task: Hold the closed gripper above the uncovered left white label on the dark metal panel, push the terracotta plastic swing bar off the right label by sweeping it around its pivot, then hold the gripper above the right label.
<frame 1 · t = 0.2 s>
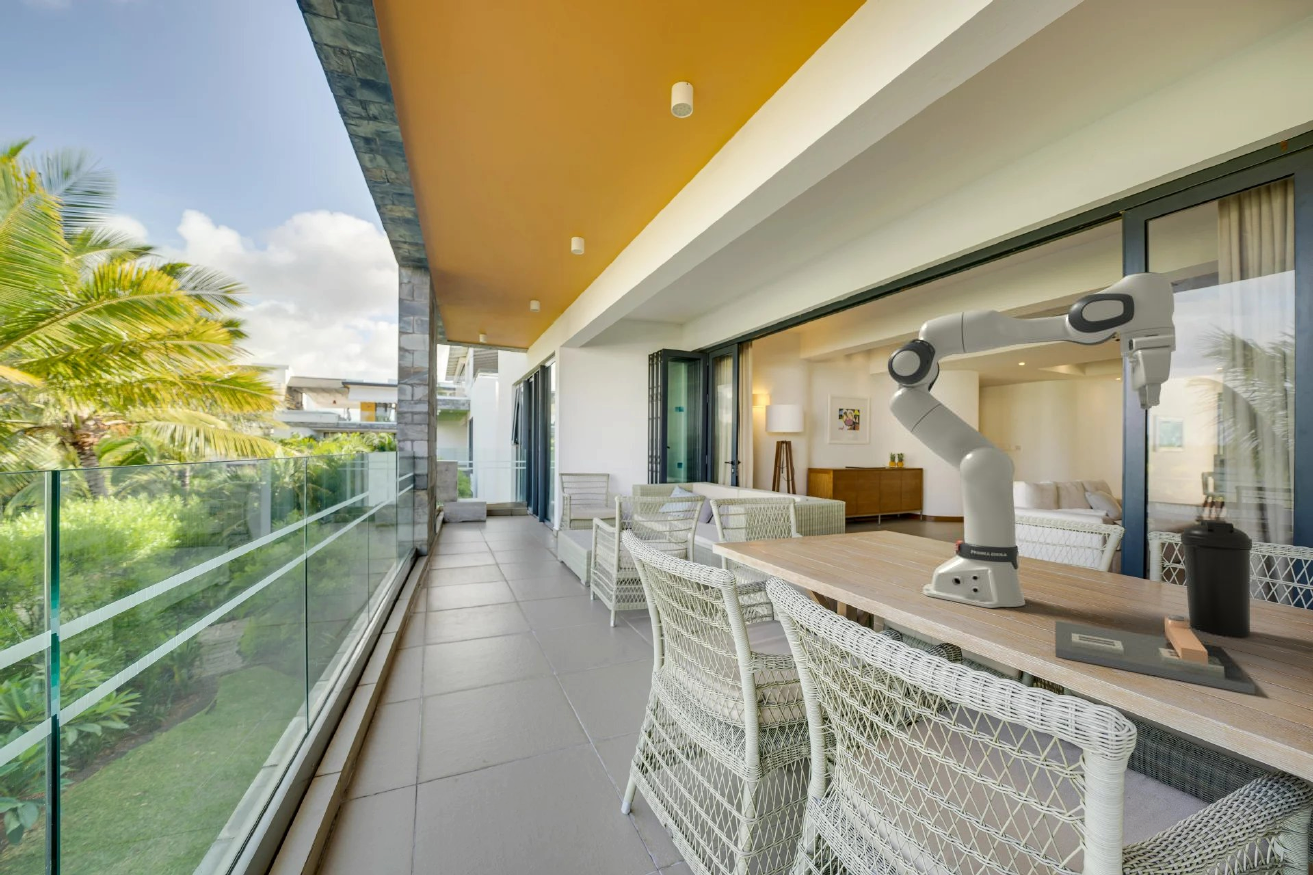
hand: (1149, 407, 112), 48 cm above the table, tool pointing down, fingers open, 8 cm apart
water bottle: (1219, 631, 106), on the table
swing bar: (1184, 639, 89), point 4 cm above the table, hinge at 0.0°
label panel: (1138, 655, 93), on the table
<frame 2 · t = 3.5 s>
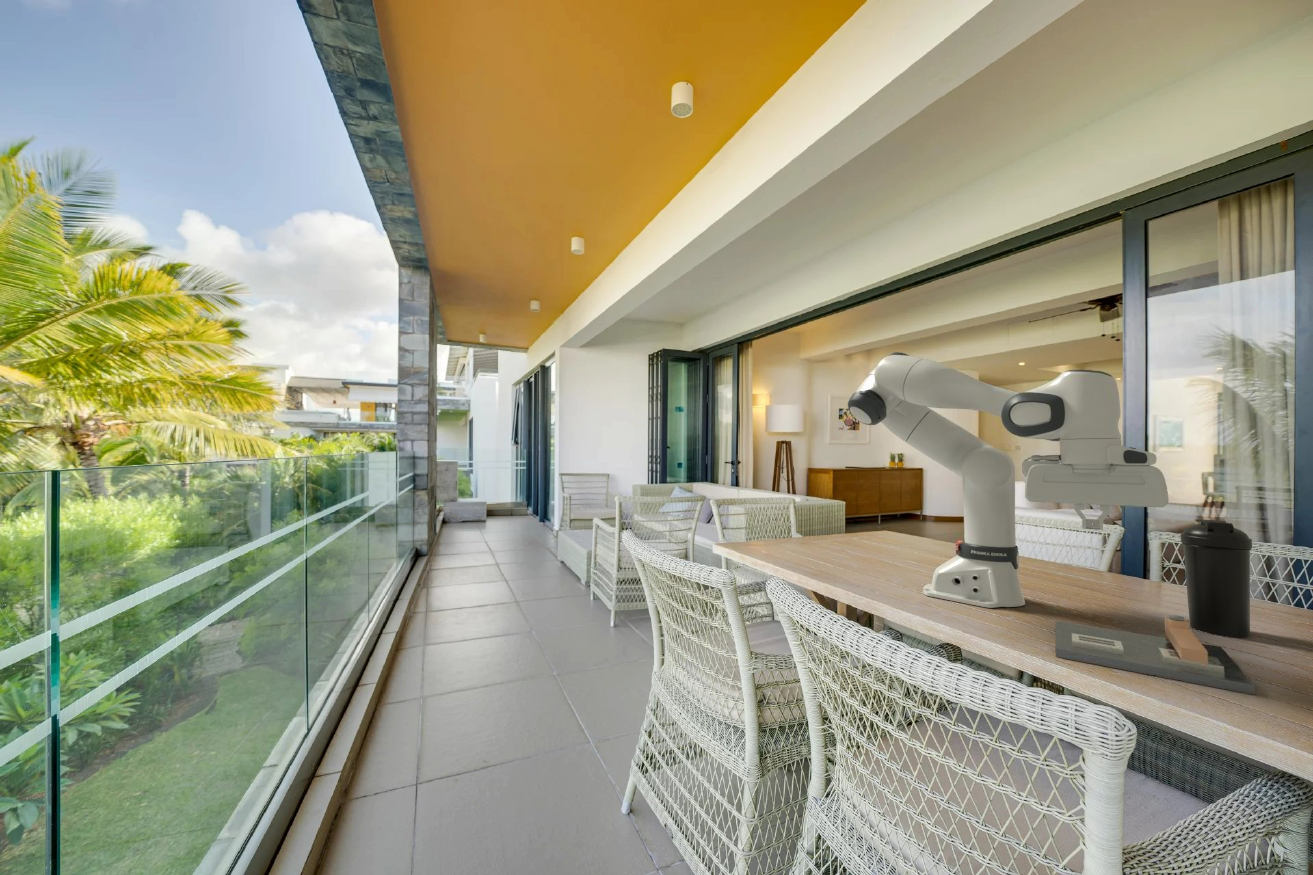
hand: (1092, 528, 94), 23 cm above the table, tool pointing down, fingers closed
nothing on the table moved.
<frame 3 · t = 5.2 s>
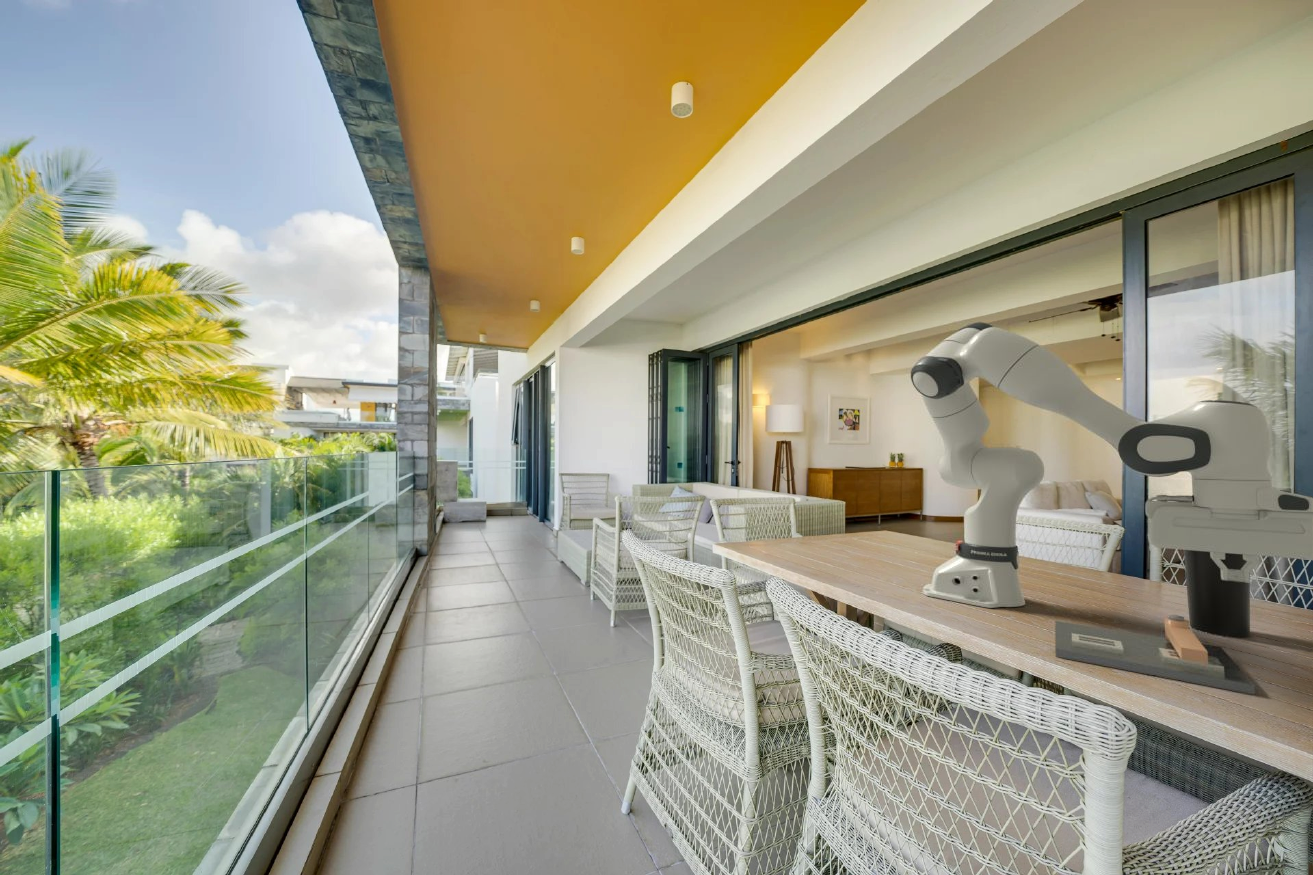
hand: (1235, 580, 83), 16 cm above the table, tool pointing down, fingers closed
nothing on the table moved.
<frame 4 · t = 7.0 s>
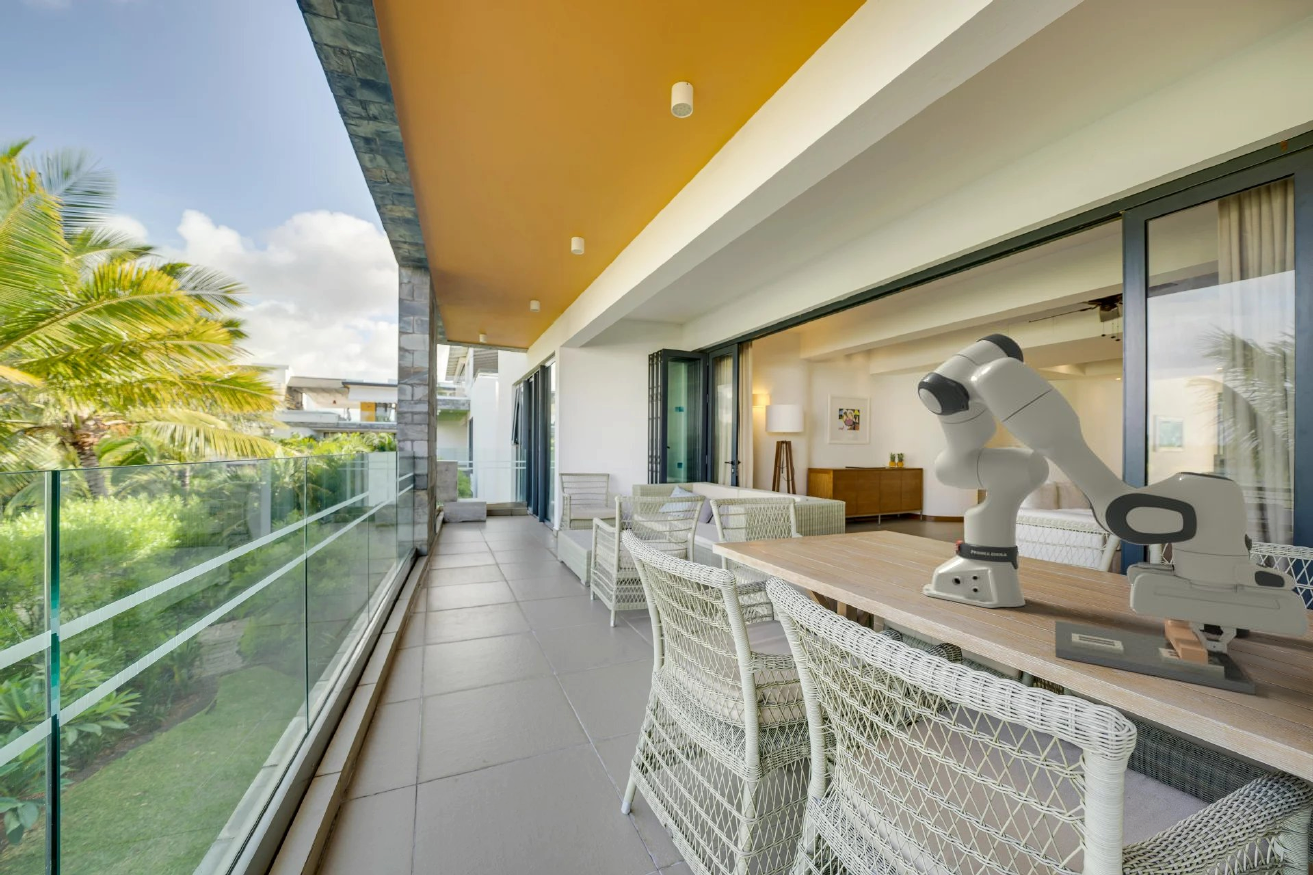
hand: (1213, 650, 85), 4 cm above the table, tool pointing down, fingers closed
swing bar: (1184, 639, 89), point 4 cm above the table, hinge at 0.0°, touching gripper
everything else where it was.
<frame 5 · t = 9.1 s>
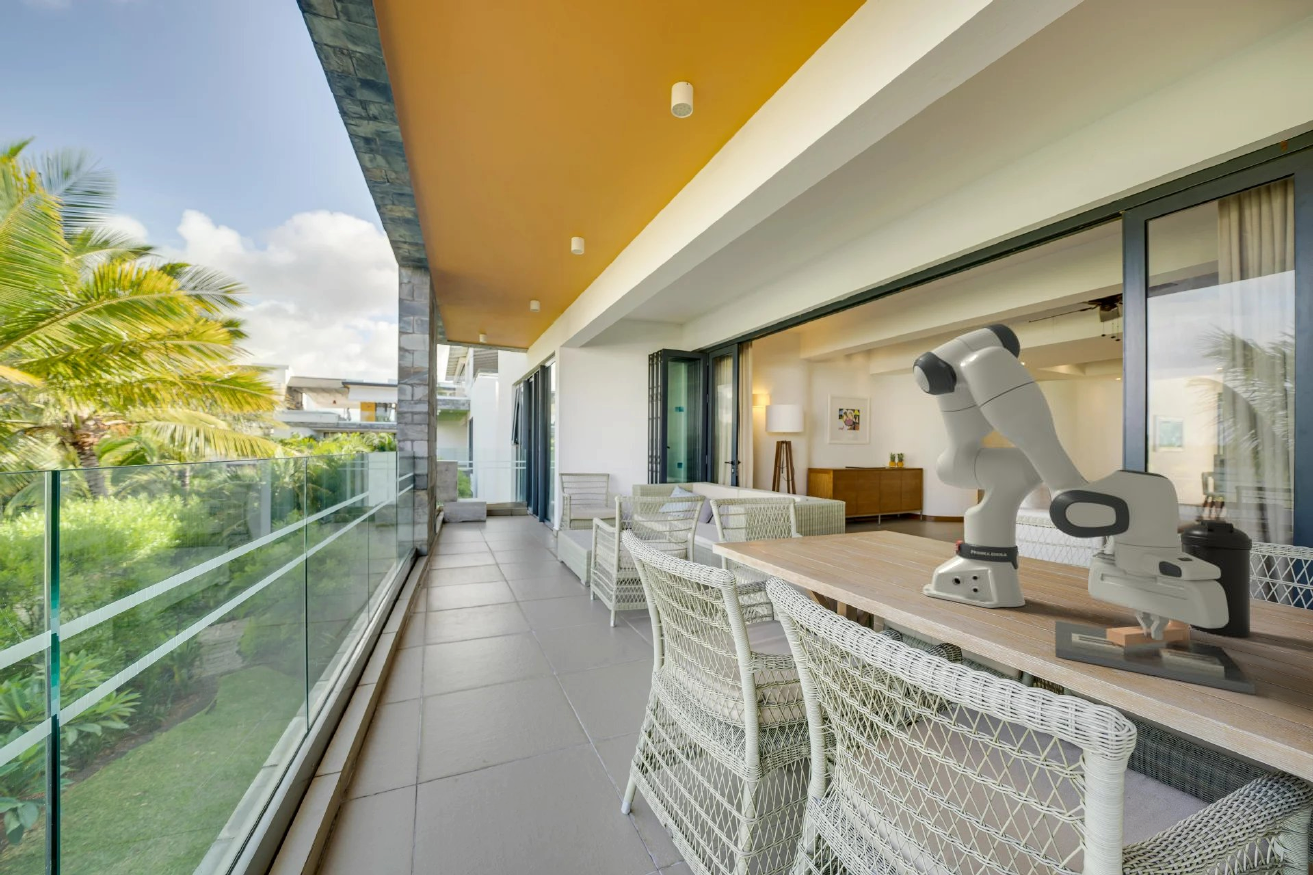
hand: (1153, 638, 90), 4 cm above the table, tool pointing down, fingers closed
swing bar: (1150, 632, 93), point 4 cm above the table, hinge at -38.8°, touching gripper
everything else where it was.
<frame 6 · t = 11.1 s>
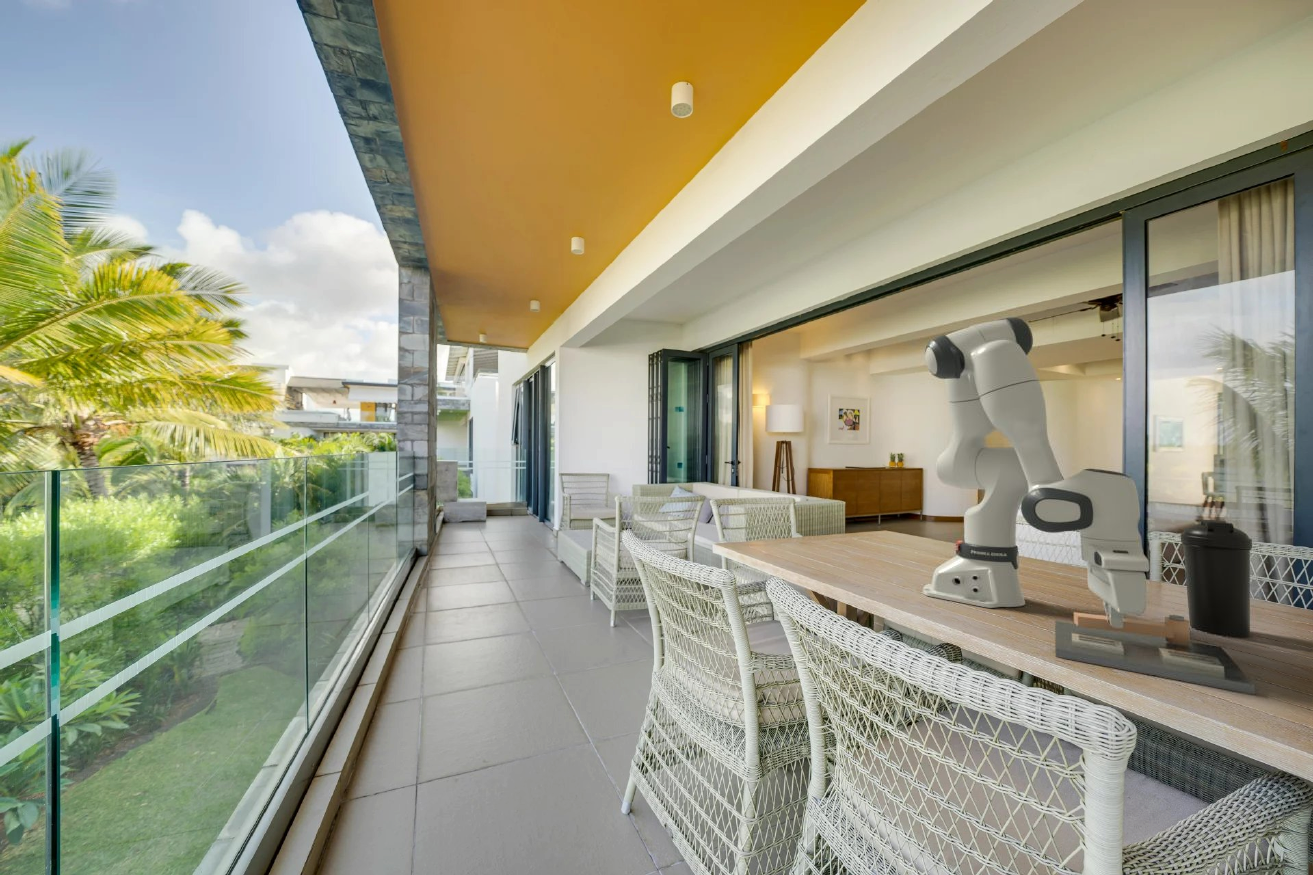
hand: (1115, 626, 97), 4 cm above the table, tool pointing down, fingers closed
swing bar: (1130, 623, 98), point 4 cm above the table, hinge at -78.8°, touching gripper
everything else where it was.
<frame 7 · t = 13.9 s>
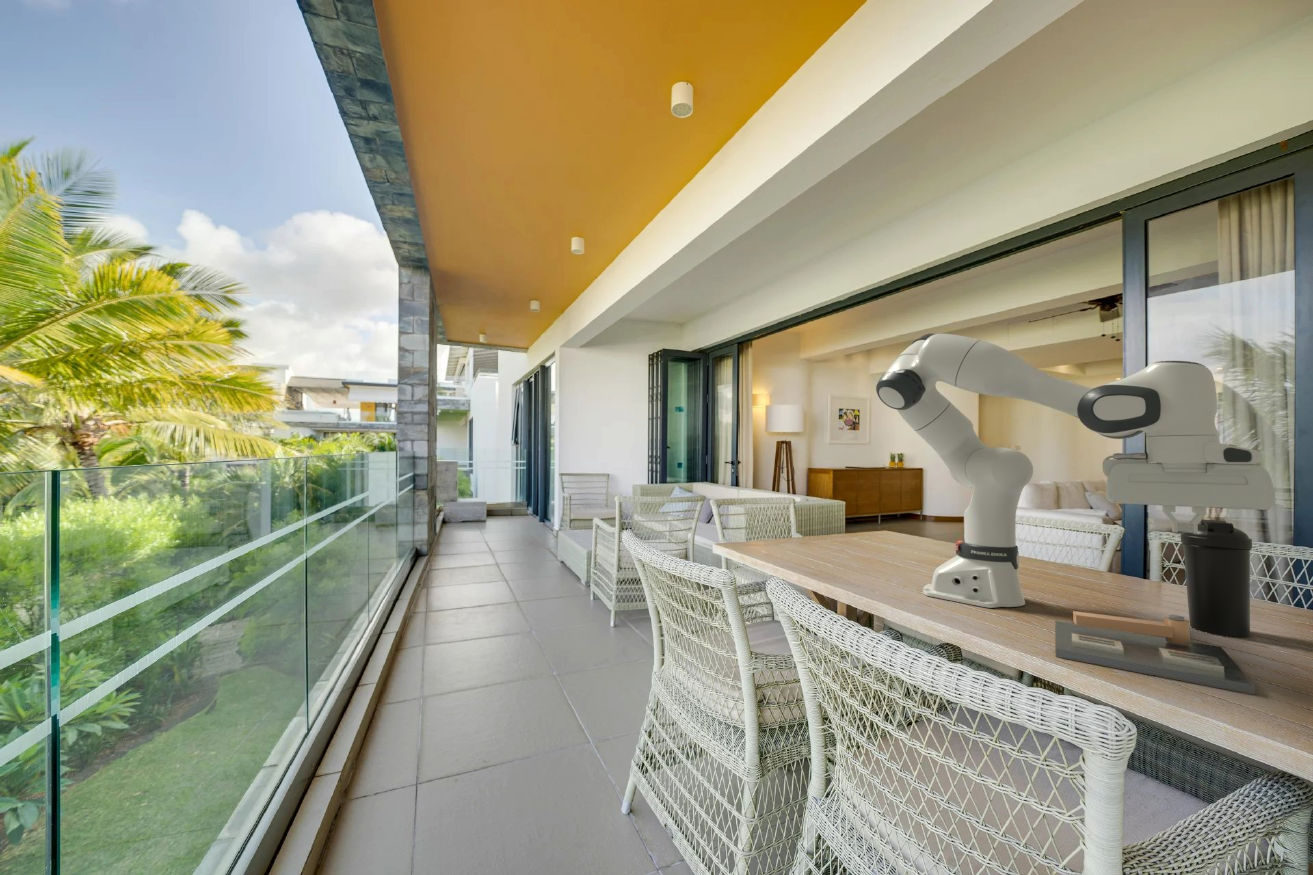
hand: (1184, 532, 88), 23 cm above the table, tool pointing down, fingers closed
swing bar: (1129, 623, 98), point 4 cm above the table, hinge at -82.4°
everything else where it was.
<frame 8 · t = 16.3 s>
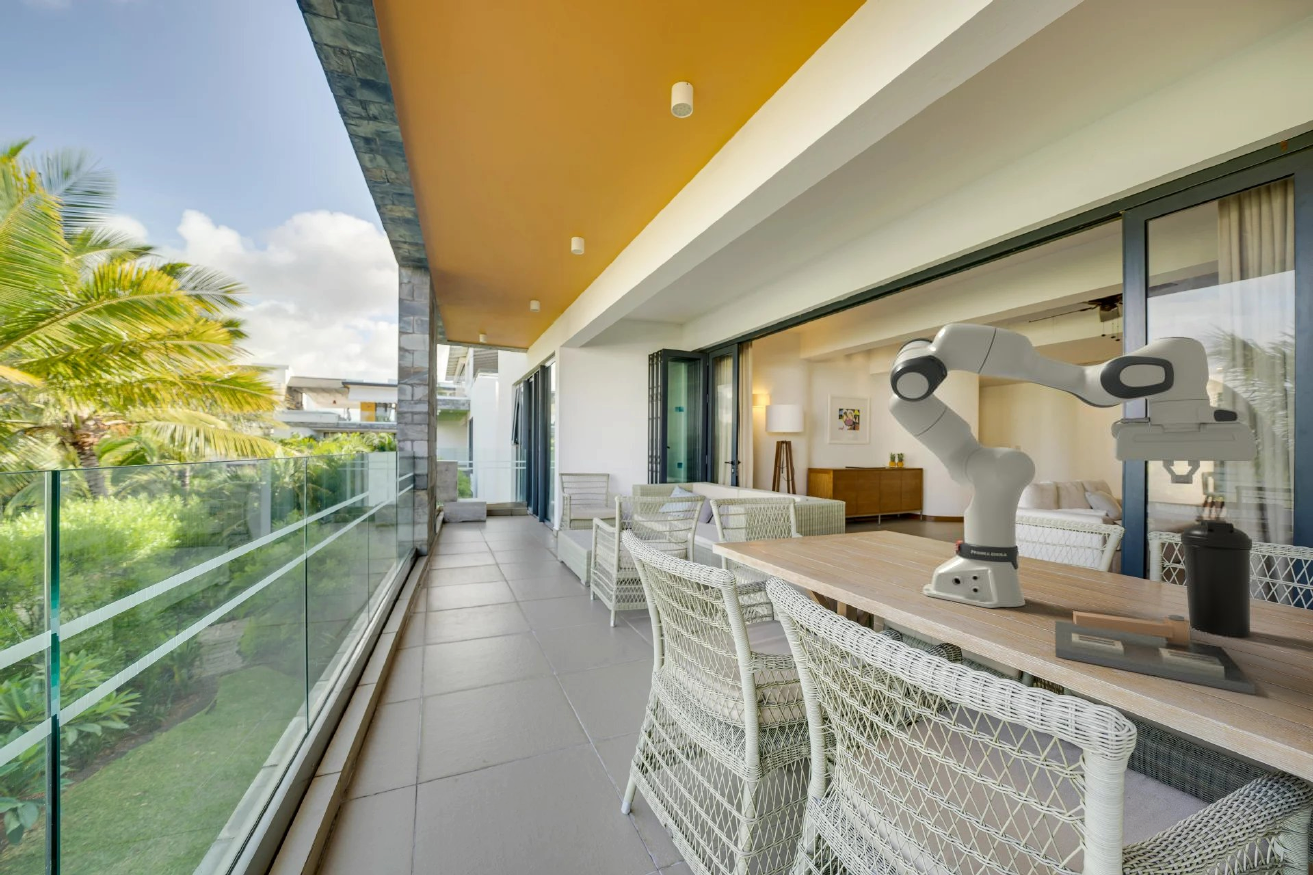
hand: (1181, 483, 103), 31 cm above the table, tool pointing down, fingers closed
nothing on the table moved.
at the end: swing bar at -82° (first picture: +0°); water bottle moved 0.2 cm from its start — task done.
